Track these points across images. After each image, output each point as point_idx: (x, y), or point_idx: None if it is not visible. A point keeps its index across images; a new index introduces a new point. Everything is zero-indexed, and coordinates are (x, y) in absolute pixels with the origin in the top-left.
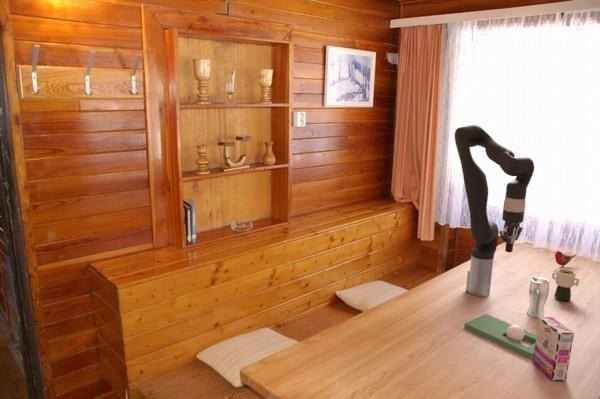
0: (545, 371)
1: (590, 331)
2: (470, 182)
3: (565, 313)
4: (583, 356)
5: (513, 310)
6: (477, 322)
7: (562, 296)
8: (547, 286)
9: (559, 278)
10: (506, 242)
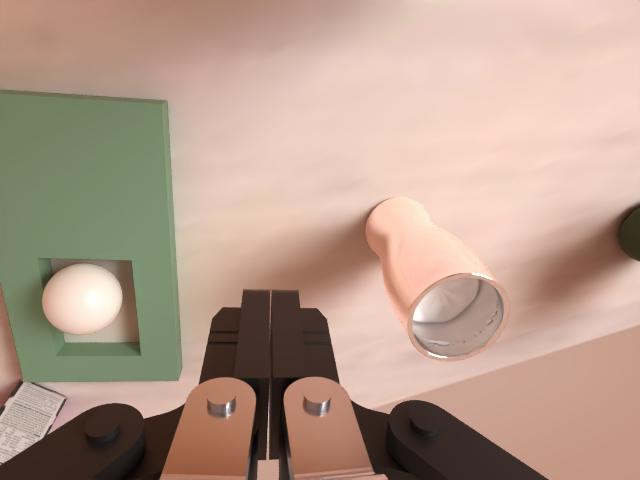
0: None
1: (405, 389)
2: None
3: None
4: None
5: (367, 146)
6: (31, 130)
7: (633, 245)
8: (434, 348)
9: None
10: (178, 418)
